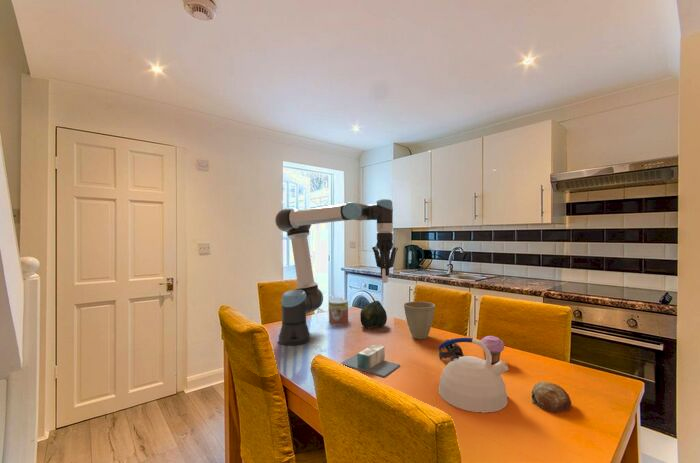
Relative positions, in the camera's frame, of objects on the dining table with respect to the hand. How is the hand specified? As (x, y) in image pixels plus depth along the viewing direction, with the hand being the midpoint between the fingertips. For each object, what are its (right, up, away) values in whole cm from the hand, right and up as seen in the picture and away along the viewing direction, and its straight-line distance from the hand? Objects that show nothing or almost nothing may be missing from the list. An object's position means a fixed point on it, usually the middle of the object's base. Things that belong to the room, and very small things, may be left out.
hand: (385, 282), depth 151 cm
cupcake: (+40, -28, -25) cm, 54 cm away
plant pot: (+18, -28, +6) cm, 34 cm away
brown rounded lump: (+43, -28, -56) cm, 76 cm away
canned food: (-23, -29, +35) cm, 51 cm away
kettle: (+22, -28, -50) cm, 61 cm away
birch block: (-5, -25, -20) cm, 33 cm away
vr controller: (+25, -28, -20) cm, 42 cm away
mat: (-9, -28, -26) cm, 39 cm away
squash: (-4, -28, +25) cm, 38 cm away
